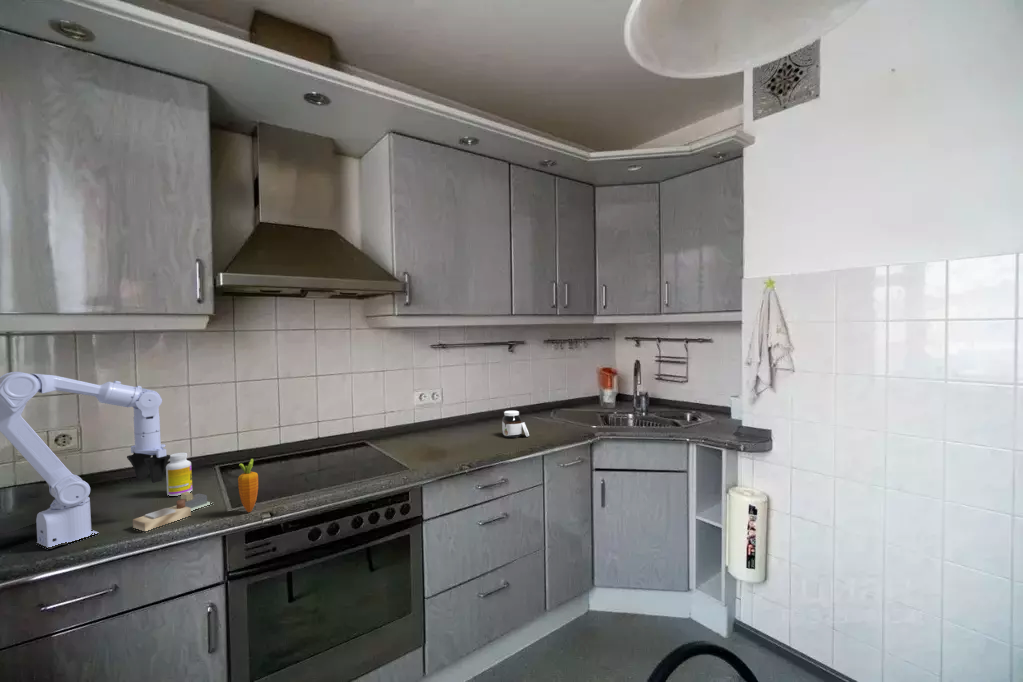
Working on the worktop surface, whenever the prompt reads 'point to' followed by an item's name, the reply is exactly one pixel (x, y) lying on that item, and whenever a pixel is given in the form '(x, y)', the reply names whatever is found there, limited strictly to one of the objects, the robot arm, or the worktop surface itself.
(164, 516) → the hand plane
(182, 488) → the supplement bottle
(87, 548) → the worktop surface
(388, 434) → the worktop surface
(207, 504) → the sage mat
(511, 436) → the spread jar
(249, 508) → the carrot
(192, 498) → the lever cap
